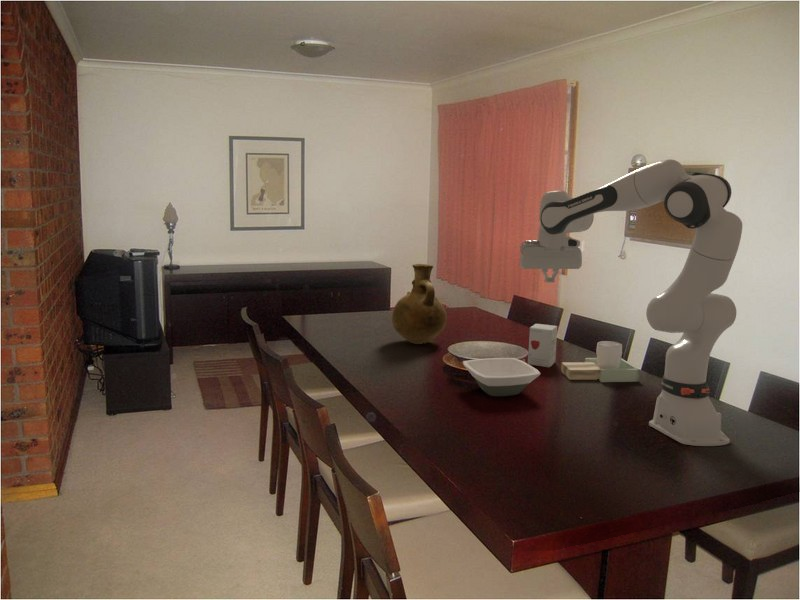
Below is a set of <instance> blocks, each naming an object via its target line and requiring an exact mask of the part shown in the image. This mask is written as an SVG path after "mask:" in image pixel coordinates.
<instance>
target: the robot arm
mask: <svg viewBox="0 0 800 600" xmlns="http://www.w3.org/2000/svg"><path fill="white" fill-rule="evenodd" d="M731 196H732V187H731V185H730V182H729V181H728V180H727V179H726V178H724V177H722V176H720V175H717V174H712V173H702V172H694V173H692V174H688V173H687V172H686V169H685V167H684V166H683V165H682V164H681V162H679V161H677V160H675V159H672V158H671V159H670V158H669V159H665V160H660V161H659V160H658V161H656V162H653V163H649V164H648V165H644V166H642V167H640V168H637V169H636V170H633V171H630V172H629V173H627V174H625V175H623V176H622V177H619V178H618V179H616V180H614V181H612V182H609V183H607V184H605V185H604V186H601V187H599V188H597V189H594V190H591V191H589V192H586V193H584V194H581V195H579V196H576V197H571V195H570V194H568V192H567V191H565V190H551V191H547V192H545V193H544V194H543V195H542V196H541V200H540V205H539V217H538V218H539V228H538V234H537V235H538V238H537V239H538V240H525V241H524V242H522V243H521V244H520V248H519V250H520V258H519V266H520V267H521V268H522V269H525V270H541V273H542V275H543V277H544V282H545V283H555V280H556V277H557V276H558V274H559V273H560V272H559V271H560V270H579V269H580V268H581V267H582V265H583V258H582V257H583V255H582V251H581V248H580V247H581V241H580V240H578V239H576V238H573V237H571V236H568V235H567V234H569V233H581V232H585V231H588V230H589V229H590V228H591V226H592V224H593V222H594V217H595V216H594V214H598V213H603V212H627V211H629V212H631V211H637V210H642V209H646V208H649V207H652V206H653V205H657V204H659V203H661V202H663V206H664V210H665V212H666V214H667V215H668V216H669V217H670V218H671V219H672V220H674V221H676V222H677V223H679V224H682V225H683V226H685V228H687V229H690V230H692V229H695V235H694V238H693V242H692V244H691V246H690V247H691V248H690V250H689V252H688V255H687V258H686V260H685V263H684V265H683V268H682V269H681V272H680V273H679V275H678V276H677V277H676V279H675V280H674V281H673V282H672V283H671V285H669V286H668V288H667V289H665V290H664V291H663V292H662V293H660V294H659V295H656V296H655V297H653V298H652V299H650V301H649V303H648V305H647V307H646V313H645V316H646V320H647V322H648V324H649V325H650V327H651V328H652V329H654V330H655V331H657V332H664V333H669V334H677V333H679V334H680V333H682V335H681V337H680V338H679V339H678V340H677V341H676V342H675V343H673V344H672V345H670V347H669V348H668V349H667V351H666V353H665V364H664V374H663V376H662V379H661V389H662V390H661V392H660V394H659V395H658V396H657V397H656V402H655V407H654V413H653V418H652V419H651V420H649V422H648V426H649V427H652V428H654V429H655V430H656V431H658V432H660V433H662V434H664V435H665V436H668V437H669V438H671V439H673V440H674V441H677V442H678V443H680V444H682V445H689V446H696V447H717V446H725V445H729V444H730V443H731V440H730V438H729V437H728V436H727V435H726V434H725V433H724V432H723V431H722V413H720V412H717V410H716V409H715V406H714V405H713V403H712V401H711V399H710V398H709V395H710V393H711V388H709V384H708V381H707V377H708V376H707V374H708V369H709V368H708V366H709V361H710V356H711V353H712V351H713V348H714V346H715V344H716V342H717V341H718V340H719V337H721V336H722V334H723V333H724V332H725V331H726V330H728V329H729V328H731V326H733V324H734V323H735V321H736V318H737V306H736V305H735V303H734V301H733V300H732V299H731V298H730V297H729V296H727V295H722V294H718V293H712V292H714V291H717V290H718V289H720V288H721V287H723V286H724V284H725V283H726V282H727V280H728V277H729V275H730V272H731V270H732V267H733V264H734V261H735V259H736V256H737V253H738V251H739V247H740V243H741V238H742V233H743V221H742V219H741V218H740V217H739V216H738V215H736V213H733V212H732V211H727V210H726V209H725V207H726V206H727V205H728V204H729V202H730V199H732V198H731ZM549 270H552V275H550V276H548V273H549Z"/></svg>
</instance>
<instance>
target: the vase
mask: <svg viewBox="0 0 800 600" xmlns="http://www.w3.org/2000/svg"><path fill="white" fill-rule="evenodd" d="M412 268H413V271H414V278H413V280H412V281H411V285H412V288H411V291H408V292H407V293H406V295H404V296H402V297H401V298H400V299H398V301H397V302H396V304H395V306H394V308H393V310H392V315H391V321H392V327H393V329H395V331H396V332H397V333H398V334H399V335H400V336H401V337H402V338H403V339H405V340H406V341H408V342H410V343H411V344H414V345H422V344H423V343H424V344H427V343H428V342H431V341H432V340H434V339H436V337H438V335H440V334H441V333H442V331H444V329H445V328H446V325H447V320H448V319H447V311H446V309H445V306H444V305H443V303H442V302H441V300H439V299H438V298H437V297H436V295H435V294H436V292H435V286H434V285H433V284H432V282H431V275H432V270H433V268H434V265H433V264H428V263H427V264H425V263H415V264H414V263H413V264H412ZM424 344H423V345H424Z"/></svg>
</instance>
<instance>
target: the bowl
mask: <svg viewBox="0 0 800 600" xmlns="http://www.w3.org/2000/svg"><path fill="white" fill-rule="evenodd" d="M462 363H463V364H462V365H463V366H464V367H465V368H466V370H467V371H468V372H469V374H471V376H472V377H473V378H474V380H475V381H476V383H477V384H478V386H479V387H480V389H481V390H482V391H483V392H484V393H485V394H487V395H488V396H491V397H507V396H508V397H510V396H517V395H519V394H520V393H522V391H523V390H525V388H526V387H527V386H528V385H529V384H530V383H532V382H533V381H534V380H536V379H537V378H538V377H540V375H541V372H540V371H539V370H538V369H537V368H535V367H533V365H530V364H528V362H525V361H524V360H521V359H518V358H516V357H494V358H493V357H492V358H490V357H489V358H478V359H470V360H469V359H468V360H462Z"/></svg>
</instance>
